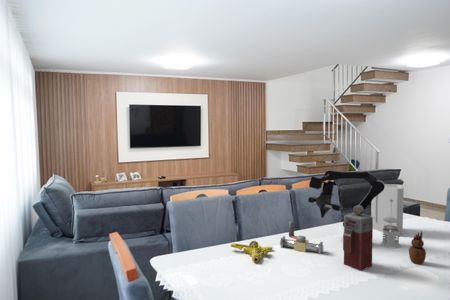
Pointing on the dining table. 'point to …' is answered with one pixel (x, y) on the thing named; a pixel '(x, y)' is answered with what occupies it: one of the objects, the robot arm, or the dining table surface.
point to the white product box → (388, 207)
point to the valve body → (301, 245)
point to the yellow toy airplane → (253, 250)
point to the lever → (291, 233)
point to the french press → (390, 236)
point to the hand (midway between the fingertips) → (322, 217)
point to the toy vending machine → (358, 239)
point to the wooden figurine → (417, 250)
